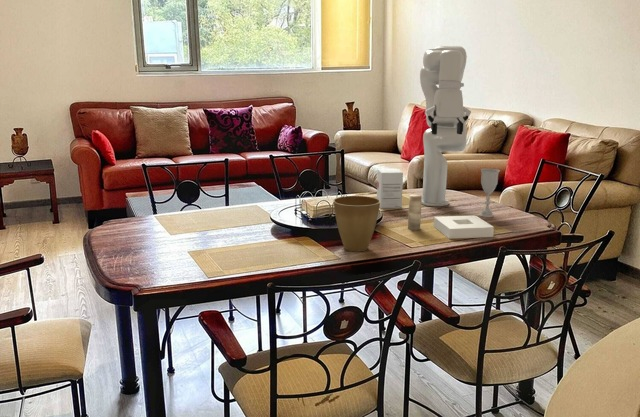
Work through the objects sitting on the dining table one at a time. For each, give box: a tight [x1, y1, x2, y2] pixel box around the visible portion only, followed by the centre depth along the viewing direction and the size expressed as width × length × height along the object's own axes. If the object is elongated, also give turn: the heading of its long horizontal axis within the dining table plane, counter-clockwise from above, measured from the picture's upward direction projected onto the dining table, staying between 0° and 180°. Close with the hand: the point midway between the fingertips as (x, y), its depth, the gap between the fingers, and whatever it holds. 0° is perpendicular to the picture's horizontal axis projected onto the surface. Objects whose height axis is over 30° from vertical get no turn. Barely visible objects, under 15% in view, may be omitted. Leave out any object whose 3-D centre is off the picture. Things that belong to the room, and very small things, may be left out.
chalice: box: [479, 167, 501, 218], centre depth 243 cm, size 7×7×18 cm
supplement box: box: [376, 168, 404, 209], centre depth 257 cm, size 9×9×15 cm
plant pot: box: [333, 195, 380, 252], centre depth 201 cm, size 15×15×16 cm
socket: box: [433, 214, 495, 240], centre depth 223 cm, size 16×16×4 cm
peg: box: [407, 194, 423, 231], centre depth 225 cm, size 4×4×12 cm
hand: (446, 134), depth 227 cm, fingers open, 9 cm apart
